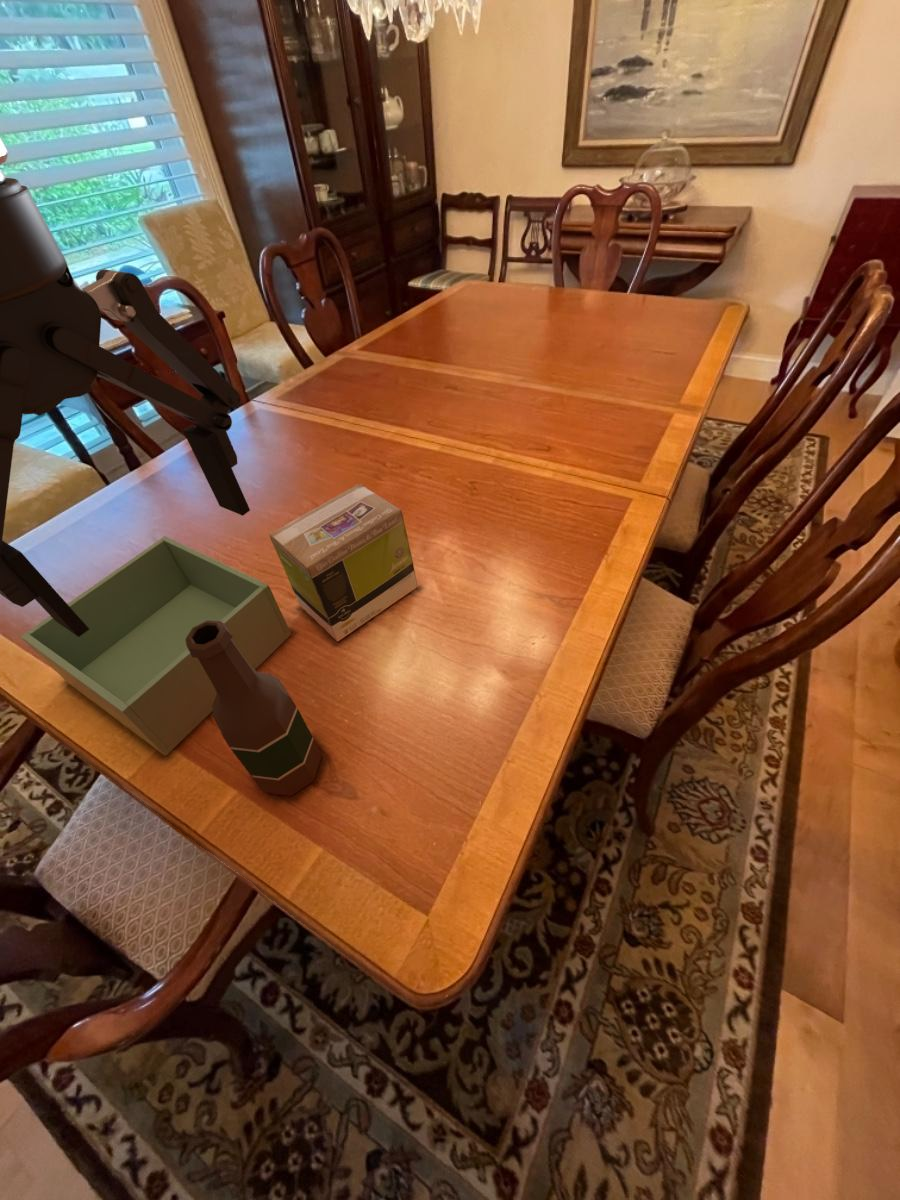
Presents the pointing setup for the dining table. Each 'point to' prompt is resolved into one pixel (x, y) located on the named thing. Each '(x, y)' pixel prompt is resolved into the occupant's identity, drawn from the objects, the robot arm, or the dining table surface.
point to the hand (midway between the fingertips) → (162, 561)
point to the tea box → (347, 559)
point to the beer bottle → (255, 714)
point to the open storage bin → (158, 638)
